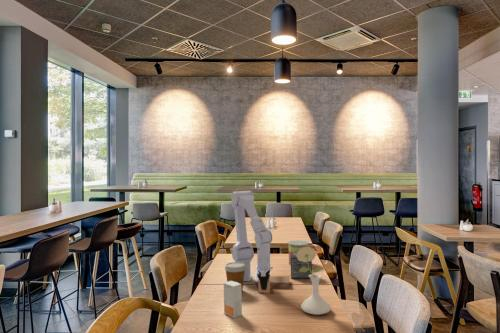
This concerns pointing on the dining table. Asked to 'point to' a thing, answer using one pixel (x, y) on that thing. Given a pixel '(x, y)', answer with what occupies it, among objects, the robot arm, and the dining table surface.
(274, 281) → the walnut block
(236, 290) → the skincare box
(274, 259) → the dining table surface
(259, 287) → the terracotta cube
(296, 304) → the dining table surface
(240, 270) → the disposable coffee cup
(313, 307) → the flower in vase
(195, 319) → the dining table surface
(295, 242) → the canned food
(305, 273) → the small box
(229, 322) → the dining table surface
